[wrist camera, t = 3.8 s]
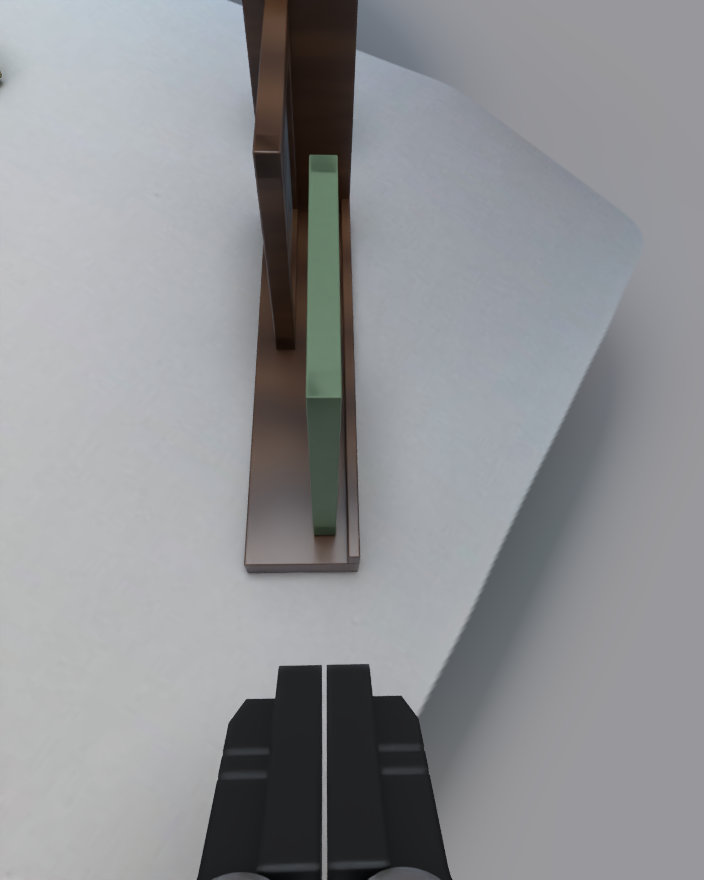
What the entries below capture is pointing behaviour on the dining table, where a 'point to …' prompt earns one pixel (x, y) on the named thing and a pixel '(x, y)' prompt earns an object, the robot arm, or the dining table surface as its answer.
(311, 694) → the robot arm
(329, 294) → the sliding pane
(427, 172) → the dining table surface
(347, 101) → the window frame
